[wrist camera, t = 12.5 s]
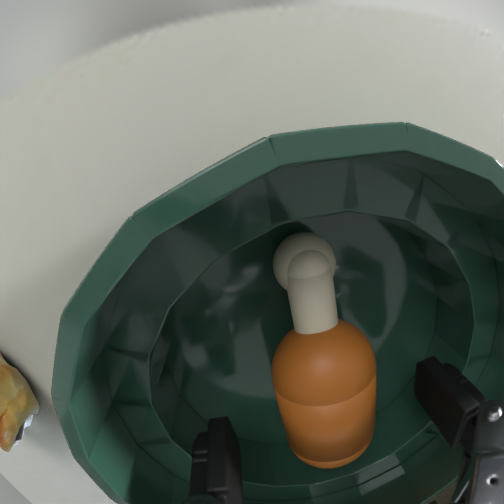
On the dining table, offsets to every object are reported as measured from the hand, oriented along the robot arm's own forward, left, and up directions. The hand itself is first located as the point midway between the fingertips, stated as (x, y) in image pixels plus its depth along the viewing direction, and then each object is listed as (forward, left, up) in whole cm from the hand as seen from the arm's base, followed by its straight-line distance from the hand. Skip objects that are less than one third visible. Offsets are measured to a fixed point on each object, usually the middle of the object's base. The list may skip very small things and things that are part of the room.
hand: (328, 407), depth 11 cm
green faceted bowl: (-1, +1, -3) cm, 3 cm away
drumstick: (-1, +1, -2) cm, 3 cm away
